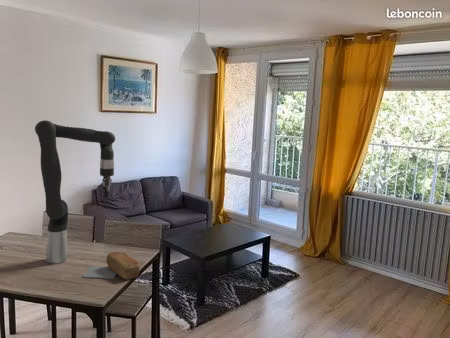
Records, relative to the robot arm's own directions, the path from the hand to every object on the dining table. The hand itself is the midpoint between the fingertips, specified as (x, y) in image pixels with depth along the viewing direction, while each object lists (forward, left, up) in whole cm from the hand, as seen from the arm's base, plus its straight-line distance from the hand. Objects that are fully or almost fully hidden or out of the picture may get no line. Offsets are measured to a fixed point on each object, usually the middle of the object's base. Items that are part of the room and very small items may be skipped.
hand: (106, 197), depth 213 cm
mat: (+5, -28, -33) cm, 43 cm away
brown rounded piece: (+9, -18, -28) cm, 35 cm away
